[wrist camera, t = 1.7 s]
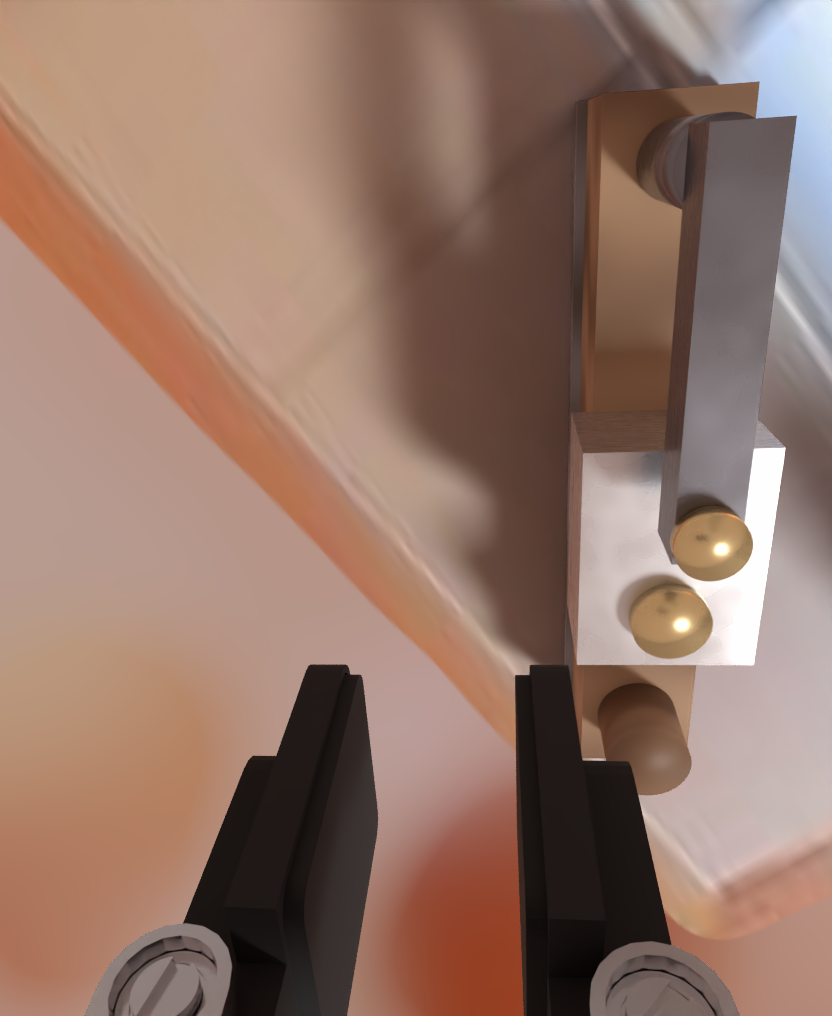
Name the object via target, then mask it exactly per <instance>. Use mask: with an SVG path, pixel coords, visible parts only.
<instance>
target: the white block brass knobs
mask: <svg viewBox="0 0 832 1016" xmlns="http://www.w3.org/2000/svg"><path fill="white" fill-rule="evenodd" d="M666 417H667V409H663V410H633V411H602V412H572V413H571V445H570V491H569V536H568V582H567V607H568V613H569V619H570V625H571V632H572V638H573V644H574V650H575V656H576V662H577V665H754V659H755V653H756V646H757V639H758V632H759V625H760V619H761V612H762V605H763V598H764V591H765V585H766V578H767V571H768V564H769V557H770V551H771V544H772V537H773V530H774V523H775V517H776V510H777V503H778V496H779V489H780V483H781V476H782V469H783V462H784V456H785V449H786V448H785V447H784V446H783V445H782V444H781V442H780V441H779V440H778V439H777V438H776V437H775V436H774V435H773V434H772V433H771V432H770V431H769V430H768V429H767V428H766V427H765V426H764V425H763V424H762V423H761V422H760V420H759V419H758V421H757V429H756V436H755V444H754V452H753V460H752V467H751V475H750V483H749V491H748V499H747V506H746V514H745V522H744V523H745V525H746V526H747V528H748V529H749V531H750V533H751V535H752V538H753V551H752V554H751V557H750V559H749V561H748V562H747V564H746V565H745V566H744V567H743V568H742V569H741V570H740V571H739V572H738V573H736V574H735V575H733V576H731V577H729V578H726V579H723V580H720V581H712V582H707V581H700V580H696V579H694V578H691V577H690V576H688V575H686V574H685V573H684V572H683V571H682V570H681V569H680V567H679V566H678V565H672V564H671V562H670V560H669V557H668V555H667V553H666V550H665V548H664V545H663V543H662V541H661V538H660V536H659V534H658V521H659V508H660V495H661V482H662V469H663V456H664V443H665V430H666Z"/></svg>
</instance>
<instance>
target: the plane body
mask: <svg viewBox="0 0 832 1016" xmlns="http://www.w3.org/2000/svg"><path fill="white" fill-rule="evenodd" d="M758 91H759V82H749V83H735V84H722V85H709V86H696V87H683V88H669V89H656V90H643V91H630V92H617V93H603V94H601V95H599V96H596V97H594V98H592V99H589V100H582V101H576V104H575V152H574V201H573V249H572V297H571V346H570V394H569V442H568V491H567V539H566V587H565V635H564V665H568V666H569V671H570V678H571V685H572V692H573V699H574V705H575V712H576V719H577V726H578V733H579V740H580V747H581V753H582V758H606V761H629V763H630V765H631V768H632V771H633V775H634V779H635V784H636V788H637V793H638V794H639V795H657V794H662V793H665V792H668V791H670V790H672V789H674V788H676V787H677V786H679V785H680V784H681V783H682V782H683V781H684V780H685V779H686V777H687V776H688V774H689V772H690V769H691V756H690V753H689V750H688V747H687V744H688V735H689V725H690V716H691V707H692V698H693V689H694V679H695V670H696V665H577V662H576V656H575V650H574V644H573V638H572V632H571V625H570V619H569V613H568V607H567V582H568V536H569V491H570V445H571V413H572V412H602V411H633V410H663V409H667V404H668V391H669V377H670V364H671V351H672V338H673V325H674V312H675V299H676V286H677V273H678V260H679V247H680V233H681V220H682V209H679V208H677V207H674V206H671V205H668V204H666V203H663V202H660V201H658V200H655V199H653V198H652V197H650V196H649V195H648V194H647V193H646V192H645V191H644V190H643V188H642V186H641V185H640V183H639V180H638V177H637V172H636V161H637V155H638V152H639V149H640V146H641V144H642V142H643V141H644V139H645V138H646V136H647V135H648V134H649V133H650V132H651V131H652V130H653V129H654V128H655V127H656V126H658V125H659V124H661V123H663V122H665V121H667V120H670V119H673V118H680V117H688V116H697V115H705V114H713V113H721V112H742V113H745V114H748V115H750V116H752V117H754V118H756V109H757V100H758Z"/></svg>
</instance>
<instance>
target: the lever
mask: <svg viewBox="0 0 832 1016" xmlns="http://www.w3.org/2000/svg"><path fill="white" fill-rule="evenodd" d="M796 118H797V116H787V117H773V118H759V119H756V118H754V117H752V116H750V115H748V114H745V113H742V112H721V113H713V114H705V115H697V116H688V117H680V118H673V119H670V120H667V121H665V122H663V123H661V124H659V125H658V126H656V127H655V128H654V129H653V130H652V131H651V132H650V133H649V134H648V135H647V136H646V138H645V139H644V141H643V142H642V144H641V146H640V149H639V152H638V155H637V161H636V172H637V177H638V180H639V183H640V185H641V186H642V188H643V190H644V191H645V192H646V193H647V194H648V195H649V196H650V197H652V198H653V199H655V200H658V201H660V202H663V203H666V204H668V205H671V206H674V207H677V208H679V209H682V220H681V233H680V247H679V260H678V273H677V286H676V299H675V312H674V325H673V338H672V351H671V364H670V377H669V391H668V404H667V417H666V430H665V443H664V456H663V469H662V482H661V495H660V508H659V521H658V534H659V536H660V538H661V541H662V543H663V545H664V548H665V550H666V553H667V555H668V557H669V560H670V562H671V564H672V565H678V566H679V567H680V569H681V570H682V571H683V572H684V573H685V574H686V575H688V576H690V577H691V578H694V579H696V580H700V581H707V582H712V581H720V580H723V579H726V578H729V577H731V576H733V575H735V574H736V573H738V572H739V571H740V570H741V569H742V568H743V567H744V566H745V565H746V564H747V562H748V561H749V559H750V557H751V554H752V551H753V538H752V535H751V533H750V531H749V529H748V528H747V526H746V525H745V523H744V522H745V514H746V506H747V499H748V491H749V483H750V475H751V467H752V460H753V452H754V444H755V436H756V429H757V421H758V413H759V405H760V398H761V390H762V382H763V374H764V366H765V359H766V351H767V343H768V335H769V328H770V320H771V312H772V304H773V297H774V289H775V281H776V273H777V265H778V258H779V250H780V242H781V234H782V227H783V219H784V211H785V203H786V196H787V188H788V180H789V172H790V164H791V157H792V149H793V141H794V133H795V126H796Z"/></svg>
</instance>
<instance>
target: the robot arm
mask: <svg viewBox="0 0 832 1016" xmlns="http://www.w3.org/2000/svg"><path fill="white" fill-rule="evenodd" d="M515 702H516V781H517V782H516V784H517V840H518V865H519V866H518V867H519V895H520V922H521V950H522V977H523V1002H524V1004H523V1005H524V1016H740V1015H739V1012H738V1010H737V1007H736V1005H735V1002H734V1000H733V998H732V995H731V993H730V991H729V990H728V988H727V987H726V986H725V985H724V983H723V982H722V980H721V979H720V978H719V977H718V975H717V974H716V973H715V971H713V970H712V969H711V968H710V967H708V966H707V965H706V964H705V963H704V962H702V961H701V960H700V959H699V958H697V957H696V956H694V955H692V954H690V953H688V952H686V951H684V950H682V949H680V948H678V947H676V946H673V945H671V941H670V936H669V932H668V927H667V923H666V918H665V914H664V909H663V905H662V900H661V896H660V891H659V887H658V882H657V878H656V873H655V869H654V864H653V860H652V855H651V851H650V846H649V842H648V838H647V833H646V829H645V824H644V820H643V815H642V811H641V806H640V802H639V797H638V793H637V788H636V784H635V779H634V775H633V771H632V768H631V765H630V763H629V761H583V760H582V753H581V747H580V740H579V733H578V726H577V719H576V712H575V705H574V699H573V692H572V685H571V678H570V671H569V666H568V665H530V675H515ZM377 827H378V810H377V801H376V791H375V783H374V775H373V765H372V756H371V748H370V739H369V731H368V722H367V713H366V705H365V695H364V686H363V680H362V677H361V675H350V671H349V668H348V666H347V665H309V666H308V668H307V670H306V673H305V676H304V678H303V681H302V684H301V687H300V690H299V693H298V696H297V699H296V701H295V704H294V707H293V710H292V713H291V716H290V718H289V722H288V724H287V727H286V730H285V733H284V736H283V738H282V741H281V745H280V747H279V750H278V753H277V756H252V757H251V758H250V759H249V760H248V762H247V764H246V766H245V768H244V770H243V773H242V776H241V778H240V781H239V783H238V786H237V788H236V791H235V793H234V796H233V798H232V801H231V803H230V806H229V808H228V811H227V814H226V816H225V819H224V821H223V824H222V826H221V829H220V831H219V834H218V836H217V839H216V841H215V844H214V846H213V849H212V852H211V854H210V857H209V859H208V862H207V864H206V867H205V869H204V872H203V874H202V877H201V879H200V882H199V884H198V887H197V889H196V892H195V895H194V897H193V900H192V902H191V905H190V907H189V910H188V912H187V915H186V917H185V920H184V922H183V924H177V925H169V926H164V927H162V928H159V929H157V930H154V931H152V932H149V933H147V934H145V935H143V936H142V937H140V938H139V939H137V940H136V941H134V942H133V943H131V944H130V945H128V946H127V947H126V948H125V949H124V950H123V951H122V952H121V953H120V954H119V955H118V956H117V957H116V958H115V959H114V960H113V962H111V963H110V965H109V967H108V968H107V970H106V972H105V974H104V975H103V977H102V978H101V980H100V982H99V983H98V986H97V988H96V990H95V993H94V995H93V997H92V999H91V1002H90V1004H89V1006H88V1009H87V1011H86V1013H85V1016H347V1012H348V1006H349V999H350V993H351V988H352V981H353V976H354V970H355V964H356V957H357V952H358V945H359V939H360V933H361V927H362V921H363V915H364V909H365V903H366V897H367V891H368V885H369V879H370V873H371V867H372V861H373V855H374V849H375V843H376V837H377Z"/></svg>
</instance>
